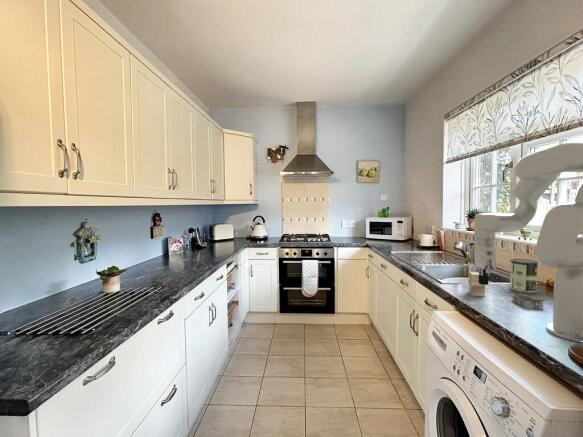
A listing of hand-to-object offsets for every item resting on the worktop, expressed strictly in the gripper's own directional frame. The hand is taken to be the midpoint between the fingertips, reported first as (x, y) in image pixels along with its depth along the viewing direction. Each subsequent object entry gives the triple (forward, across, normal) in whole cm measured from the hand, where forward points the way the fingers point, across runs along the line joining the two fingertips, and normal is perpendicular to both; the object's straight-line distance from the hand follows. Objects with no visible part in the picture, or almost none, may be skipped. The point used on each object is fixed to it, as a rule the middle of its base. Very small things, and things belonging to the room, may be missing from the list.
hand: (483, 284), depth 124 cm
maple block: (+7, +8, 0) cm, 11 cm away
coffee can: (+7, +21, -25) cm, 33 cm away
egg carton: (+8, -2, -15) cm, 17 cm away
